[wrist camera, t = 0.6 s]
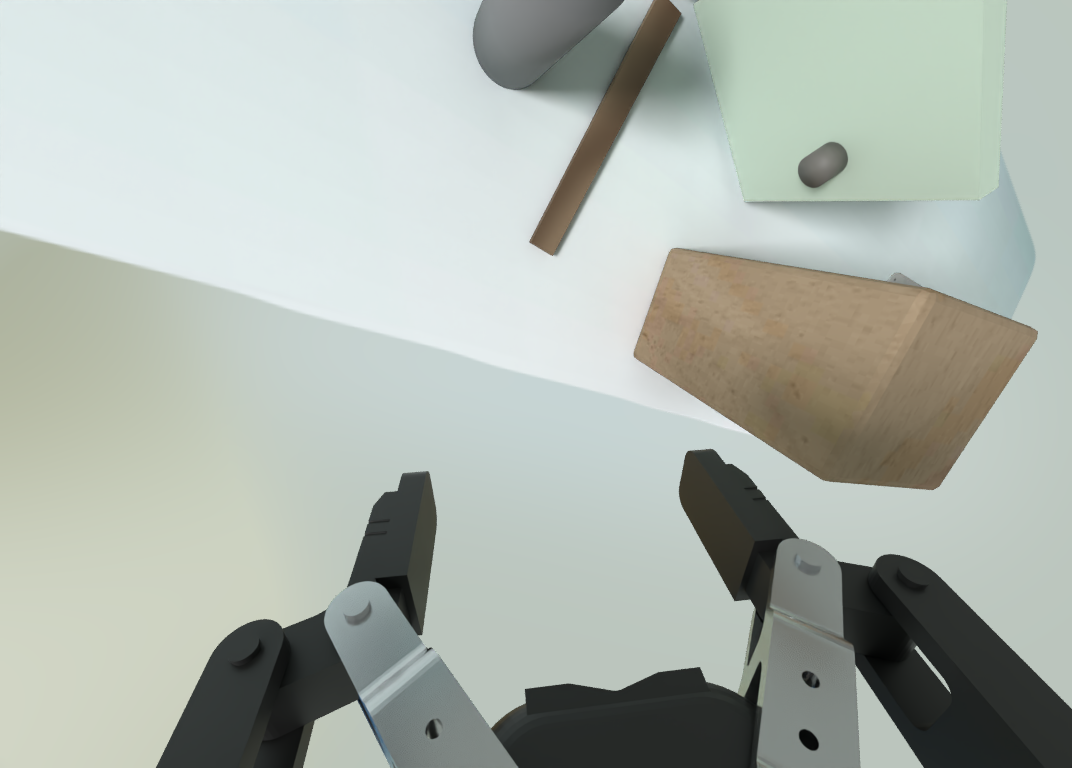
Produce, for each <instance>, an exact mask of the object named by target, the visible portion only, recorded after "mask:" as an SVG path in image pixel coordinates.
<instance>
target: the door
mask: <svg viewBox="0 0 1072 768" xmlns="http://www.w3.org/2000/svg"><path fill="white" fill-rule="evenodd" d="M693 5H694V9H695V13H696V17H697V21H698V25H699V29H700V33H701V36H702V40H703V44H704V48H705V52H706V56H707V60H708V64H709V67H710V71H711V75H712V79H713V83H714V87H715V91H716V95H717V98H718V102H719V106H720V110H721V114H722V118H723V122H724V126H725V129H726V133H727V137H728V141H729V145H730V149H731V153H732V157H733V160H734V164H735V168H736V172H737V176H738V180H739V184H740V188H741V191H742V195H743V199H744V202H765V201H940V200H980V199H982V198H983V197H985V196H986V195H988V194H989V193H991V192H992V191H993V190H995V189H996V188H998V187H999V165H1000V142H1001V120H1002V98H1003V76H1004V54H1005V31H1006V9H1007V0H699V1H697V2H696V3H694V4H693Z"/></svg>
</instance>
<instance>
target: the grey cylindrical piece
mask: <svg viewBox="0 0 1072 768" xmlns="http://www.w3.org/2000/svg"><path fill="white" fill-rule="evenodd" d="M623 1H624V0H483V1H482V3H481V6H480V8H479V11H478V13H477V16H476V19H475V22H474V28H473V44H474V49H475V53H476V57H477V59H478V62H479V64H480V66H481V67H482V69H483V70H484V72H485V73H486V74H487V76H488V77H489V78H490V79H491V80H492V81H494V82H495V83H497V84H498V85H500V86H502V87H504V88H508V89H522V88H525V87H527V86H529V85H531V84H532V83H534V82H535V81H536V80H537V79H538V78H539V77H541V76H542V75H543V74H544V73H545V72H546V71H547V70H548V69H550V68H551V67H552V66H553V65H554V64H555V63H556V62H557V61H558V60H560V59H561V58H562V57H563V56H564V55H565V54H566V53H567V52H569V51H570V50H571V49H572V48H573V47H574V46H575V45H576V44H577V43H579V42H580V41H581V40H582V39H583V38H584V37H585V36H586V35H588V34H589V33H590V32H591V31H592V30H593V29H594V28H595V27H596V26H598V25H599V24H600V23H601V22H602V21H603V20H604V19H605V18H607V17H608V16H609V15H610V14H611V13H612V12H613V11H614V10H616V9H617V8H618V7H619V6H620V5H621V4H622V3H623Z"/></svg>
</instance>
